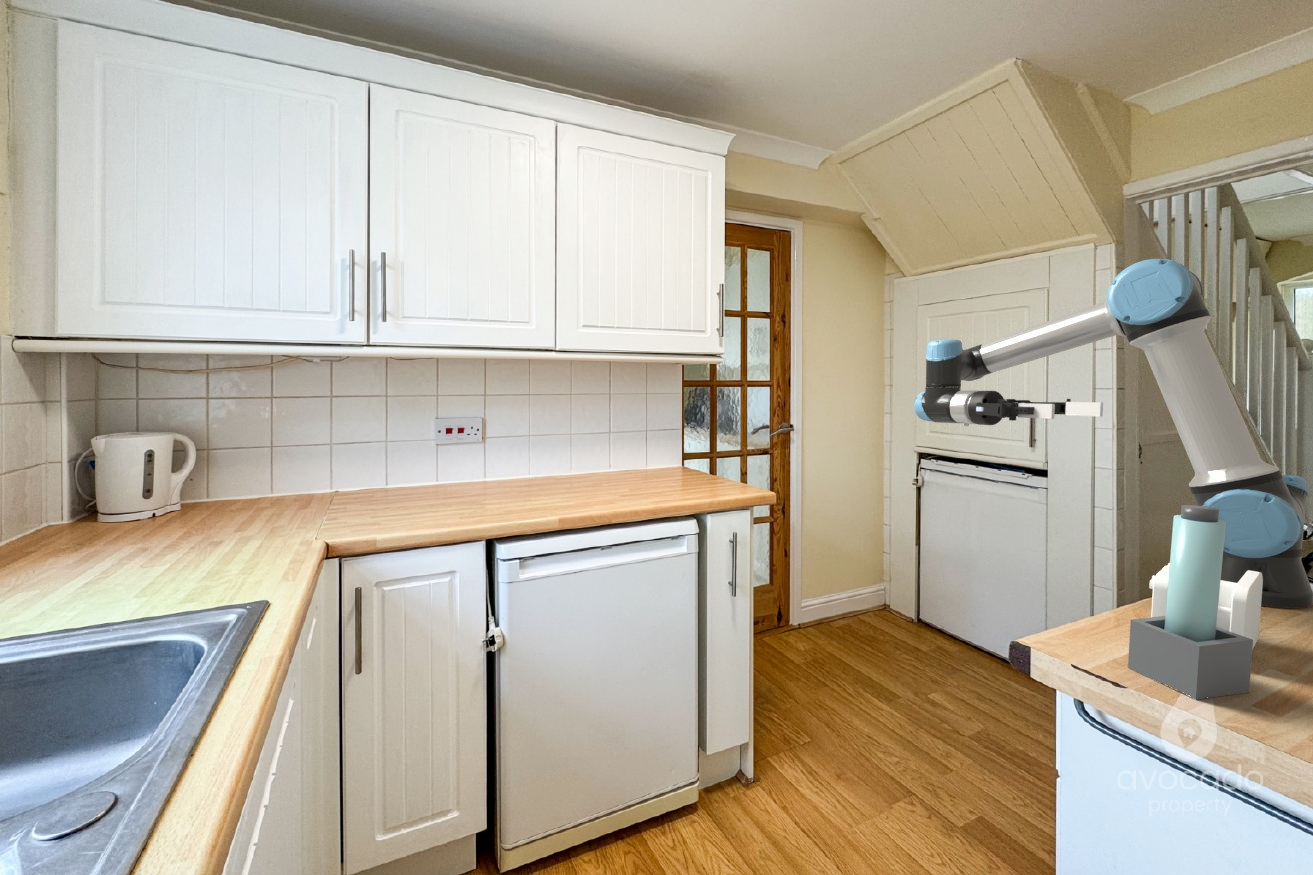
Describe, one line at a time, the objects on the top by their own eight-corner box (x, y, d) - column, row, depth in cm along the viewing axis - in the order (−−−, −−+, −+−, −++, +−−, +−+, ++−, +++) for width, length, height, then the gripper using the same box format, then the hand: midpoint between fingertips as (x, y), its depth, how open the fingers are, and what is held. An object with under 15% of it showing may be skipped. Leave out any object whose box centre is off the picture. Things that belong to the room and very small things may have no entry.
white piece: (1243, 674, 79) (1249, 592, 78) (1144, 648, 87) (1148, 573, 86) (1259, 644, 88) (1265, 569, 87) (1168, 622, 96) (1172, 554, 95)
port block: (1177, 661, 83) (1180, 614, 82) (1249, 691, 74) (1253, 639, 74) (1127, 667, 81) (1130, 619, 80) (1195, 699, 73) (1199, 646, 72)
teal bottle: (1180, 668, 81) (1194, 503, 78) (1221, 686, 76) (1237, 511, 74) (1151, 671, 80) (1164, 504, 77) (1190, 690, 75) (1206, 512, 73)
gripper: (1017, 422, 133) (1119, 427, 113) (935, 426, 124) (1030, 432, 104) (1018, 389, 132) (1121, 389, 112) (936, 391, 123) (1032, 391, 103)
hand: (1078, 410), depth 108 cm, fingers open, 13 cm apart
